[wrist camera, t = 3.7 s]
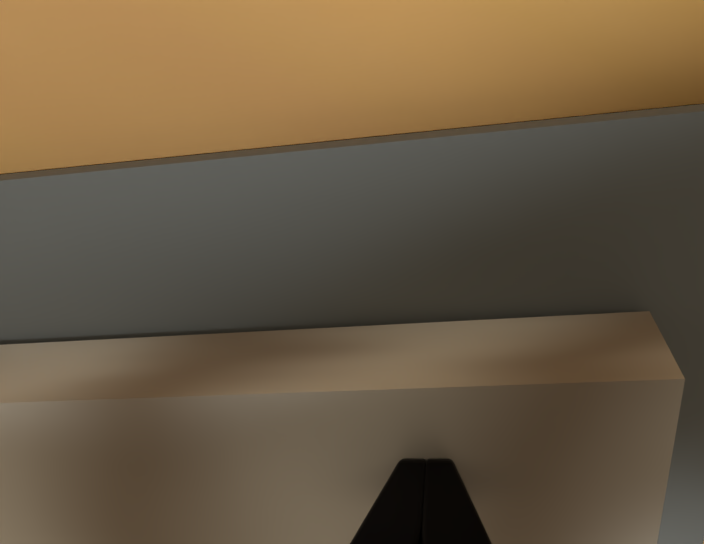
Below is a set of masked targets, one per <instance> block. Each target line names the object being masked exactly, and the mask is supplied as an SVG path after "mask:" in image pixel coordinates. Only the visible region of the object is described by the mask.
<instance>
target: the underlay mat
mask: <svg viewBox="0 0 704 544" xmlns="http://www.w3.org/2000/svg"><path fill="white" fill-rule="evenodd" d="M642 311H650V313H651V315H652V317H653V319H654V321H655V323H656V325H657V326H658V328H659V330H660V332H661V334H662V336H663V338H664V340H665V342H666V344H667V346H668V347H669V349H670V351H671V353H672V355H673V357H674V359H675V361H676V363H677V365H678V366H679V368H680V370H681V372H682V374H683V376H684V378H685V382H684V388H683V394H682V400H681V406H680V412H679V417H678V423H677V429H676V435H675V441H674V447H673V453H672V458H671V464H670V470H669V476H668V482H667V488H666V494H665V500H664V505H663V511H662V517H661V523H660V529H659V535H658V541H657V544H703V540H704V104H696V105H686V106H676V107H666V108H656V109H646V110H637V111H627V112H617V113H607V114H597V115H587V116H577V117H567V118H557V119H547V120H537V121H527V122H517V123H507V124H497V125H487V126H478V127H468V128H458V129H448V130H438V131H428V132H418V133H408V134H398V135H388V136H378V137H368V138H358V139H348V140H338V141H328V142H319V143H309V144H299V145H289V146H279V147H269V148H259V149H249V150H239V151H229V152H219V153H209V154H199V155H189V156H179V157H170V158H160V159H150V160H140V161H130V162H120V163H110V164H100V165H90V166H80V167H70V168H60V169H50V170H40V171H30V172H20V173H11V174H1V175H0V345H6V344H25V343H44V342H64V341H83V340H102V339H122V338H141V337H160V336H179V335H199V334H218V333H237V332H257V331H276V330H295V329H314V328H334V327H353V326H372V325H392V324H411V323H430V322H449V321H469V320H488V319H507V318H527V317H546V316H565V315H584V314H604V313H623V312H642Z"/></svg>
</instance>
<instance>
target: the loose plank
mask: <svg viewBox="0 0 704 544" xmlns="http://www.w3.org/2000/svg"><path fill="white" fill-rule="evenodd" d="M684 382H685V378H684V376H683V374H682V372H681V370H680V368H679V366H678V365H677V363H676V361H675V359H674V357H673V355H672V353H671V351H670V349H669V347H668V346H667V344H666V342H665V340H664V338H663V336H662V334H661V332H660V330H659V328H658V326H657V325H656V323H655V321H654V319H653V317H652V315H651V313H650V311H642V312H623V313H604V314H584V315H565V316H546V317H527V318H507V319H488V320H469V321H449V322H430V323H411V324H392V325H372V326H353V327H334V328H314V329H295V330H276V331H257V332H237V333H218V334H199V335H179V336H160V337H141V338H122V339H102V340H83V341H64V342H44V343H25V344H6V345H0V544H350V542H351V541H352V539H353V537H354V536H355V534H356V532H357V531H358V529H359V527H360V526H361V524H362V522H363V520H364V519H365V517H366V515H367V514H368V512H369V510H370V509H371V507H372V505H373V504H374V502H375V500H376V499H377V497H378V495H379V494H380V492H381V490H382V488H383V487H384V485H385V483H386V482H387V480H388V478H389V477H390V475H391V473H392V472H393V470H394V468H395V467H396V465H397V463H398V462H399V461H400V460H401V459H404V458H423V459H425V460H427V459H451V460H452V461H453V462H454V463H455V465H456V467H457V470H458V472H459V474H460V476H461V478H462V480H463V482H464V485H465V487H466V489H467V491H468V493H469V495H470V497H471V500H472V502H473V504H474V506H475V508H476V510H477V512H478V515H479V517H480V519H481V521H482V523H483V525H484V527H485V530H486V532H487V534H488V536H489V538H490V540H491V543H492V544H657V541H658V535H659V529H660V523H661V517H662V511H663V505H664V500H665V494H666V488H667V482H668V476H669V470H670V464H671V458H672V453H673V447H674V441H675V435H676V429H677V423H678V417H679V412H680V406H681V400H682V394H683V388H684Z"/></svg>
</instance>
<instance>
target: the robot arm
mask: <svg viewBox="0 0 704 544" xmlns="http://www.w3.org/2000/svg"><path fill="white" fill-rule="evenodd" d="M350 544H492V543H491V540H490V538H489V536H488V534H487V532H486V530H485V527H484V525H483V523H482V521H481V519H480V517H479V515H478V512H477V510H476V508H475V506H474V504H473V502H472V500H471V497H470V495H469V493H468V491H467V489H466V487H465V485H464V482H463V480H462V478H461V476H460V474H459V472H458V470H457V467H456V465H455V463H454V462H453V461H452V460H451V459H427V460H425V459H423V458H404V459H401V460H400V461H399V462H398V463H397V465H396V467H395V468H394V470H393V472H392V473H391V475H390V477H389V478H388V480H387V482H386V483H385V485H384V487H383V488H382V490H381V492H380V494H379V495H378V497H377V499H376V500H375V502H374V504H373V505H372V507H371V509H370V510H369V512H368V514H367V515H366V517H365V519H364V520H363V522H362V524H361V526H360V527H359V529H358V531H357V532H356V534H355V536H354V537H353V539H352V541H351V542H350Z"/></svg>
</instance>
